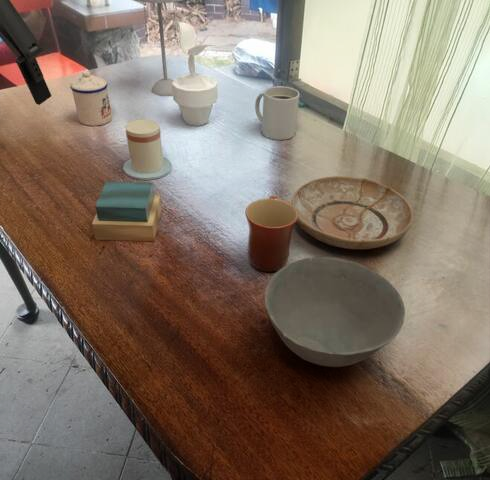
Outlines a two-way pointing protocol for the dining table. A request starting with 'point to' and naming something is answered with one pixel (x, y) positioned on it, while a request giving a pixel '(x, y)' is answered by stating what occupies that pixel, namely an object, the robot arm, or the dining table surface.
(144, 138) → the canister
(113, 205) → the stack
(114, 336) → the dining table surface
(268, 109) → the mug
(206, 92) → the potted plant
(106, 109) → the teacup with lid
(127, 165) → the coaster
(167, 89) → the lamp
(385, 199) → the ceramic bowl
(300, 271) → the bowl
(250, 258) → the mug
